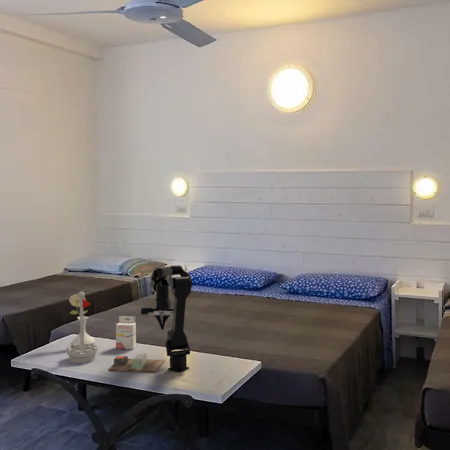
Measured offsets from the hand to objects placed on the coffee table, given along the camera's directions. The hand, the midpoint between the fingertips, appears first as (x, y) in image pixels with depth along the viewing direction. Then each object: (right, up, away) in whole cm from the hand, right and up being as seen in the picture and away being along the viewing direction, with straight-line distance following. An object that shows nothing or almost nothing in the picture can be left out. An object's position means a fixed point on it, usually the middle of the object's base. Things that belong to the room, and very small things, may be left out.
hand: (163, 329), depth 251 cm
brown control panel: (-9, -13, -14) cm, 21 cm away
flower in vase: (-41, -12, +19) cm, 47 cm away
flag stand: (-35, -13, -3) cm, 37 cm away
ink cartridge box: (-19, -12, +15) cm, 27 cm away
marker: (-8, -12, -14) cm, 20 cm away
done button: (-16, -12, -13) cm, 24 cm away
